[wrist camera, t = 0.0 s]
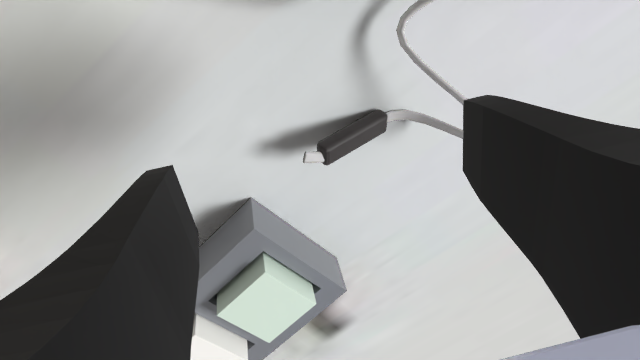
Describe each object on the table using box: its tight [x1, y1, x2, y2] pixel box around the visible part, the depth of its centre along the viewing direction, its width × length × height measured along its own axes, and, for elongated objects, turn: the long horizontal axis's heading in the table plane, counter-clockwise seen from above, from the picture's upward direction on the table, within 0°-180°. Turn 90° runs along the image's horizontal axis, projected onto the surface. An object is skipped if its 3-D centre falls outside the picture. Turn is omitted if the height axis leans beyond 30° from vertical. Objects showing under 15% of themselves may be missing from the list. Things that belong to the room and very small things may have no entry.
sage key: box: [217, 251, 316, 343], centre depth 24 cm, size 3×3×2 cm
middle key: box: [190, 313, 248, 360], centre depth 25 cm, size 3×3×2 cm
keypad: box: [195, 198, 347, 360], centre depth 26 cm, size 15×6×3 cm, turn 134°
